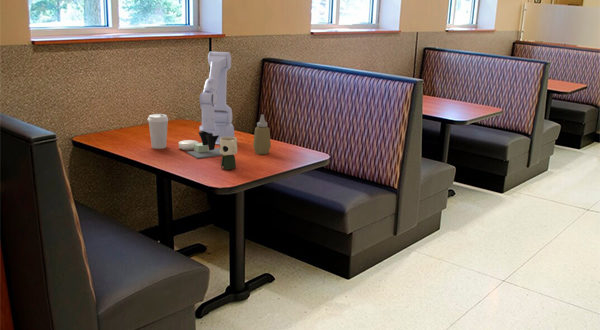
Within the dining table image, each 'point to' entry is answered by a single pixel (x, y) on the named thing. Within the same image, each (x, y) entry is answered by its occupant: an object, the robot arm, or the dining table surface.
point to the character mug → (228, 152)
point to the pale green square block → (200, 147)
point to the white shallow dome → (187, 144)
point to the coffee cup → (158, 130)
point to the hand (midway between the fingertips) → (208, 148)
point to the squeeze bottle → (262, 137)
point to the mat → (205, 153)
